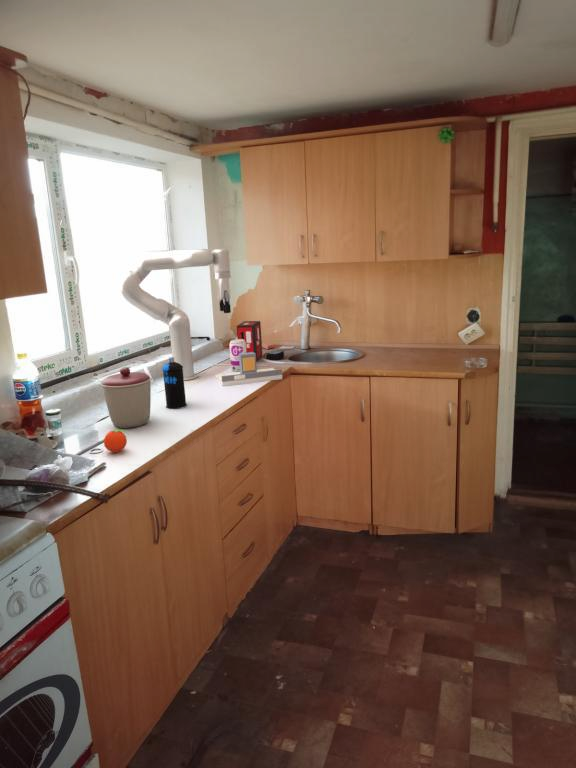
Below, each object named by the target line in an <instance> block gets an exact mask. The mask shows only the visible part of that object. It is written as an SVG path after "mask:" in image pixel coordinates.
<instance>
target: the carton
mask: <svg viewBox="0 0 576 768" xmlns="http://www.w3.org/2000/svg"><path fill="white" fill-rule="evenodd" d="M239 364H240V371H239V372H240V374H244V373H253V372H257V370H258V369H257V362H256V354H255V353H254V352H249V353H239Z"/></svg>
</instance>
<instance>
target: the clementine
mask: <svg viewBox="0 0 576 768" xmlns="http://www.w3.org/2000/svg"><path fill="white" fill-rule="evenodd" d="M123 432H124V433H123ZM125 433H126V434H128V432H127V431H125V430H121V429H116V430H115V429H113V430H111V431H109V432H108V433H107V434H105V436H104V438H103V445H104V447H105V449H106V450H108V451H109V452H111V453H119V452H121V451H123V450H124V449H125V448H126V446H127V442H128V440H127V436H126V435H125Z"/></svg>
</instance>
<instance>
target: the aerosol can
mask: <svg viewBox="0 0 576 768" xmlns="http://www.w3.org/2000/svg"><path fill="white" fill-rule="evenodd" d="M168 360H169V362H168V363H166V364H164V365H163V366H162V368H161V370H162V374H163V384H164V385H163V386H164V394H165V395H164V396H165V403H166V406H165V408H167V409H169V410H171V409H172V410H177V409H183V408H185V407H187V405H188V404H187V402H186V401H187V400H186V388H185V381H184V378H183V366H182V365H181V364H179V363H176V362H174V357H172V356H169V357H168Z"/></svg>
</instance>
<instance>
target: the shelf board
mask: <svg viewBox="0 0 576 768" xmlns="http://www.w3.org/2000/svg"><path fill="white" fill-rule="evenodd" d="M215 377H216V380H217V381H218V383H219V384H220V385H221V386H222V387H227V386H228V387H229V386H235V385H244V384H245V385H246V384H251V383H253V384H254V383H260V382H268V381H277V380H283V369H282V368H279V369H278V368H277V369H275V368H274V367H270V368H269V367H268V368H261V369H257V372H253V373H244V374H240V371H239V372H236V371H233V372H226V373H218V374H215Z"/></svg>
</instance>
